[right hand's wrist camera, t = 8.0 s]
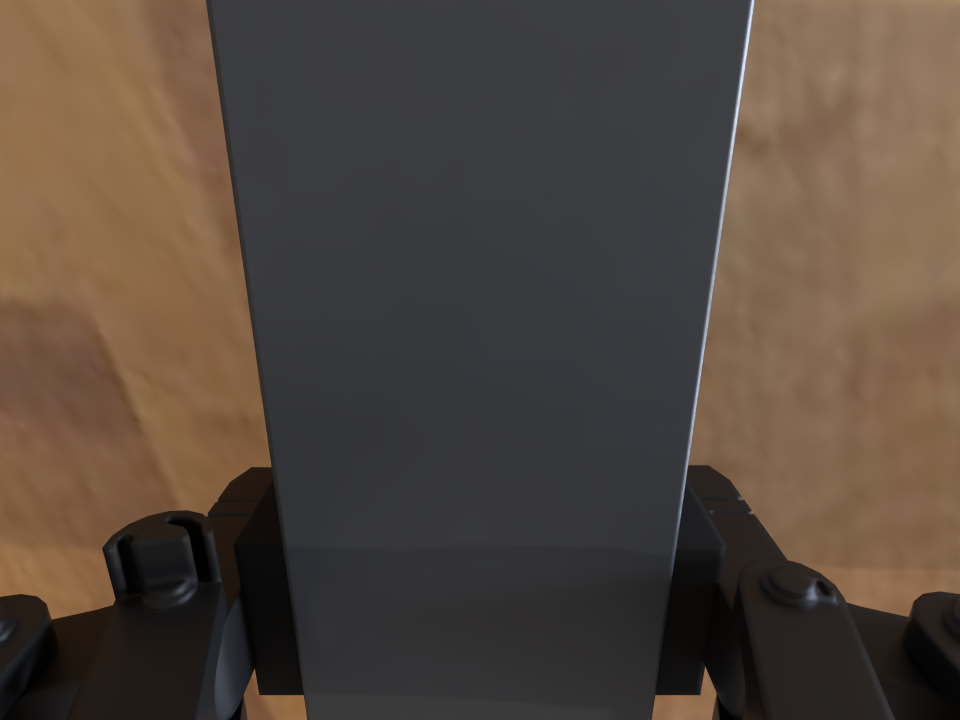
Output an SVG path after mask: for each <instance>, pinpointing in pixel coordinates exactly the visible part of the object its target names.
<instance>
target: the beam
mask: <svg viewBox="0 0 960 720" xmlns="http://www.w3.org/2000/svg"><path fill="white" fill-rule="evenodd" d="M754 1H755V0H206V4H207V11H208V18H209V25H210V32H211V39H212V46H213V53H214V60H215V67H216V75H217V82H218V89H219V96H220V103H221V110H222V117H223V124H224V131H225V138H226V146H227V153H228V160H229V167H230V174H231V181H232V188H233V195H234V202H235V209H236V217H237V224H238V231H239V238H240V245H241V252H242V259H243V266H244V273H245V280H246V288H247V295H248V302H249V309H250V316H251V323H252V330H253V337H254V344H255V351H256V359H257V366H258V373H259V380H260V387H261V394H262V401H263V408H264V415H265V422H266V430H267V437H268V444H269V451H270V458H271V465H272V472H273V479H274V486H275V493H276V501H277V508H278V515H279V522H280V529H281V536H282V543H283V550H284V557H285V564H286V571H287V579H288V586H289V593H290V600H291V607H292V614H293V621H294V628H295V635H296V642H297V650H298V657H299V664H300V671H301V678H302V685H303V692H304V699H305V706H306V713H307V720H652V713H653V706H654V699H655V692H656V685H657V678H658V671H659V664H660V657H661V650H662V643H663V636H664V629H665V622H666V615H667V608H668V602H669V595H670V588H671V581H672V574H673V567H674V560H675V553H676V546H677V539H678V532H679V525H680V518H681V511H682V504H683V497H684V490H685V483H686V476H687V469H688V462H689V455H690V448H691V441H692V434H693V427H694V420H695V413H696V406H697V399H698V392H699V385H700V378H701V371H702V364H703V357H704V350H705V343H706V336H707V329H708V322H709V315H710V308H711V302H712V295H713V288H714V281H715V274H716V267H717V260H718V253H719V246H720V239H721V232H722V225H723V218H724V211H725V204H726V197H727V190H728V183H729V176H730V169H731V162H732V155H733V148H734V141H735V134H736V127H737V120H738V113H739V106H740V99H741V92H742V85H743V78H744V71H745V64H746V57H747V50H748V43H749V36H750V29H751V22H752V15H753V8H754Z"/></svg>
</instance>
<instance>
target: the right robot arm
mask: <svg viewBox="0 0 960 720" xmlns="http://www.w3.org/2000/svg"><path fill="white" fill-rule="evenodd" d="M102 549H103V553H104V557H105V561H106V564H107V568H108V572H109V576H110V579H111V583H112V587H113V591H114V594H115V598H116V600H115V602H114V605H112V606H109V607H105V608H102V609H98V610H94V611H89V612H85V613H80V614H76V615H71V616H67V617H62V618H58V619H53V620H51V617H50V613H49V610H48V607H47V604H46V603H45V602H43V601H42V600H41V599H40V598H38V597H37V596H30V595H23V594H18V595H11V596H4V597H0V720H247V713H246V706H245V701H244V692H245V690H246V688H247V685H248V683H249V680H250V678H251V676H252V673H253V671H254V669H255V672H256V678H257V684H258V689H259V695H304V692H303V685H302V678H301V671H300V664H299V657H298V650H297V642H296V635H295V628H294V621H293V614H292V607H291V600H290V593H289V586H288V579H287V571H286V564H285V557H284V550H283V543H282V536H281V529H280V522H279V515H278V508H277V501H276V493H275V486H274V479H273V472H272V467H251V468H250V469H249V470H247V471H246V472H244V473H243V474H241V475H240V476H238V477H237V478H235V479H234V480H232V481H231V482H230V483H229V485H228V486H227V487H226V489H225V490H224V492H223V493H222V494H221V496H220V497H219V498H218V502H216V503H215V504H214V505H213V507H212V508H211V510H210V511H209V512H208V517H205V516H204V515H203V514H200V513H196V512H192V511H168V512H163V513H159V514H155V515H151V516H147V517H145V518H143V519H140V520H138V521H135V522H133V523H131V524H129V525H127V526H126V527H124V528H123V529H121V530H120V531H118V532H117V533H115V534H114V535H112V537H111V538H110V539H109V540H108V541H107V543H106V544H105V545H104V546H103V548H102ZM705 666H706V669H707V671H708V674H709V676H710V678H711V681H712V683H713V685H714V688H715V690H716V692H717V695H716V701H715V706H714V711H713V717H712V720H960V594H954V593H947V592H940V591H939V592H933V593H926V594H922V595H921V596H920V597H919V598H917V599H916V600H915V601H914V602H913V606H912V609H911V612H910V615H909V617H905V616H901V615H896V614H891V613H887V612H882V611H878V610H873V609H869V608H864V607H860V606H857V605H853V604H850V603H846V601H845V599H844V597H843V596H842V594H841V593H840V592H839V590H838V589H837V587H836V586H835V585H834V584H833V583H832V582H831V581H829V580H828V579H827V578H825V577H824V576H823V575H822V574H820V573H819V572H817V571H815V570H813V569H810V568H808V567H806V566H804V565H802V564H800V563H796V562H792V561H788V560H787V559H786V557H785V556H784V555H783V553H782V552H781V550H780V549H779V548H778V546H777V545H776V544H775V542H774V541H773V539H772V538H771V537H770V535H769V534H768V532H767V531H766V530H765V528H764V527H763V526H762V524H761V523H760V521H759V520H758V519H757V517H756V516H755V514H752V510H751V509H750V508H749V506H748V505H747V503H746V502H745V501H744V500H742V496H741V495H740V494H739V492H738V491H737V490H736V488H735V487H734V485H733V484H732V483H731V481H730V480H729V479H727V478H726V477H725V476H723V475H722V474H720V473H719V472H717V471H716V470H714V469H713V468H711V467H710V466H708V465H688V469H687V476H686V483H685V490H684V497H683V504H682V511H681V518H680V525H679V532H678V539H677V546H676V553H675V560H674V567H673V574H672V581H671V588H670V595H669V602H668V608H667V615H666V622H665V629H664V636H663V643H662V650H661V657H660V664H659V671H658V678H657V685H656V692H655V695H700V693H701V687H702V681H703V676H704V670H705Z"/></svg>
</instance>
